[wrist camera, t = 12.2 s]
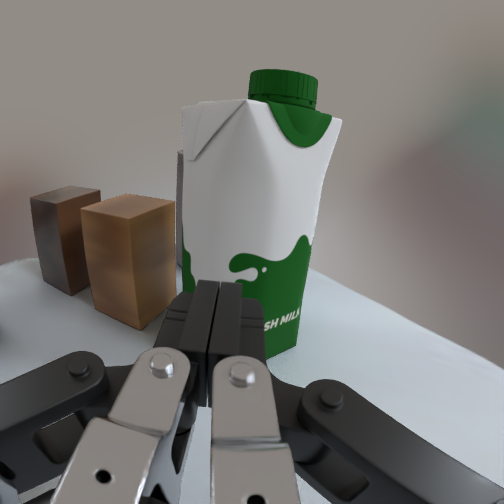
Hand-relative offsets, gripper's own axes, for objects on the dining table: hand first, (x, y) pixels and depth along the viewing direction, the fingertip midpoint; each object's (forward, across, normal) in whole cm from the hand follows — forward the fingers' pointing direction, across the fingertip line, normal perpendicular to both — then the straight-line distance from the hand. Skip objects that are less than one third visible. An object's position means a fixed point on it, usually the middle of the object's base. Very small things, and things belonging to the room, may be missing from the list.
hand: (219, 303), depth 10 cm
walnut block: (+17, +19, +11) cm, 28 cm away
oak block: (+14, +9, +11) cm, 20 cm away
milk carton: (+11, -1, +11) cm, 15 cm away
